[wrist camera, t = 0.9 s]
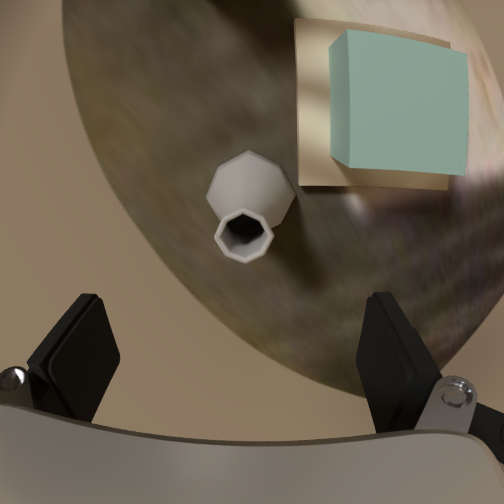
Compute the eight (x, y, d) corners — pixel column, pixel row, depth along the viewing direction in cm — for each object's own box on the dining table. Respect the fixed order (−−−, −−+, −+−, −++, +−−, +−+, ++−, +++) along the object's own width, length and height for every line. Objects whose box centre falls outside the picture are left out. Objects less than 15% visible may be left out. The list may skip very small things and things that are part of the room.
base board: (293, 22, 21) (295, 18, 20) (443, 44, 20) (450, 42, 19) (297, 182, 27) (299, 185, 25) (441, 187, 26) (447, 190, 25)
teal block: (328, 47, 21) (347, 29, 15) (428, 61, 20) (466, 54, 15) (330, 155, 24) (349, 167, 19) (427, 161, 24) (464, 176, 18)
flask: (310, 193, 27) (334, 235, 18) (252, 249, 29) (247, 313, 20) (247, 134, 25) (239, 145, 16) (191, 196, 27) (156, 239, 18)
